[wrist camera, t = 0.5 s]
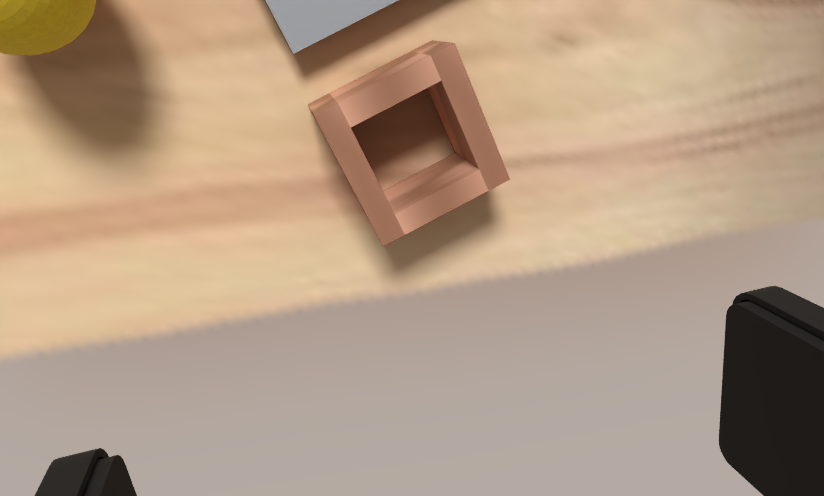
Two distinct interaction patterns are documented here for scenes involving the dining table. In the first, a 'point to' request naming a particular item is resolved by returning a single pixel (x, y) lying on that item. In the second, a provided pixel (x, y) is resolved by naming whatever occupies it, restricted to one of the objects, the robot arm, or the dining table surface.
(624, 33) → the dining table surface
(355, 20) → the hook board
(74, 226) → the dining table surface
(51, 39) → the lemon
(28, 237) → the dining table surface
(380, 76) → the wooden loop
